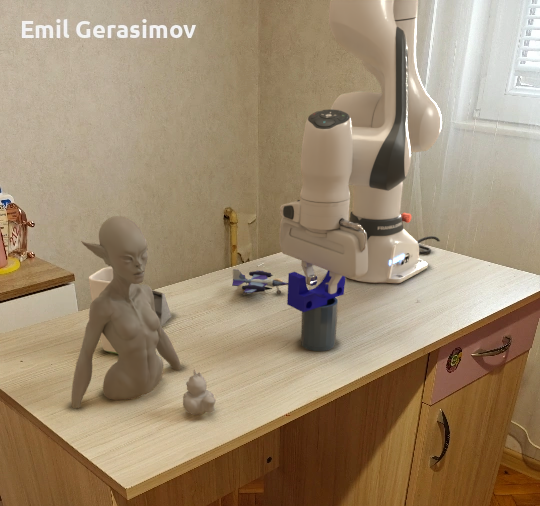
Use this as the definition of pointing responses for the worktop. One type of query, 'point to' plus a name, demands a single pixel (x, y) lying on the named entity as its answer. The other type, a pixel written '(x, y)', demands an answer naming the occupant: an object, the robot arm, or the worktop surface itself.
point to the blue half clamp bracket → (310, 292)
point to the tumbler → (320, 327)
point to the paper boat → (161, 307)
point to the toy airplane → (256, 281)
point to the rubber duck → (198, 396)
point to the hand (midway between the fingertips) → (320, 288)
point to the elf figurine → (124, 319)
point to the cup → (97, 285)
